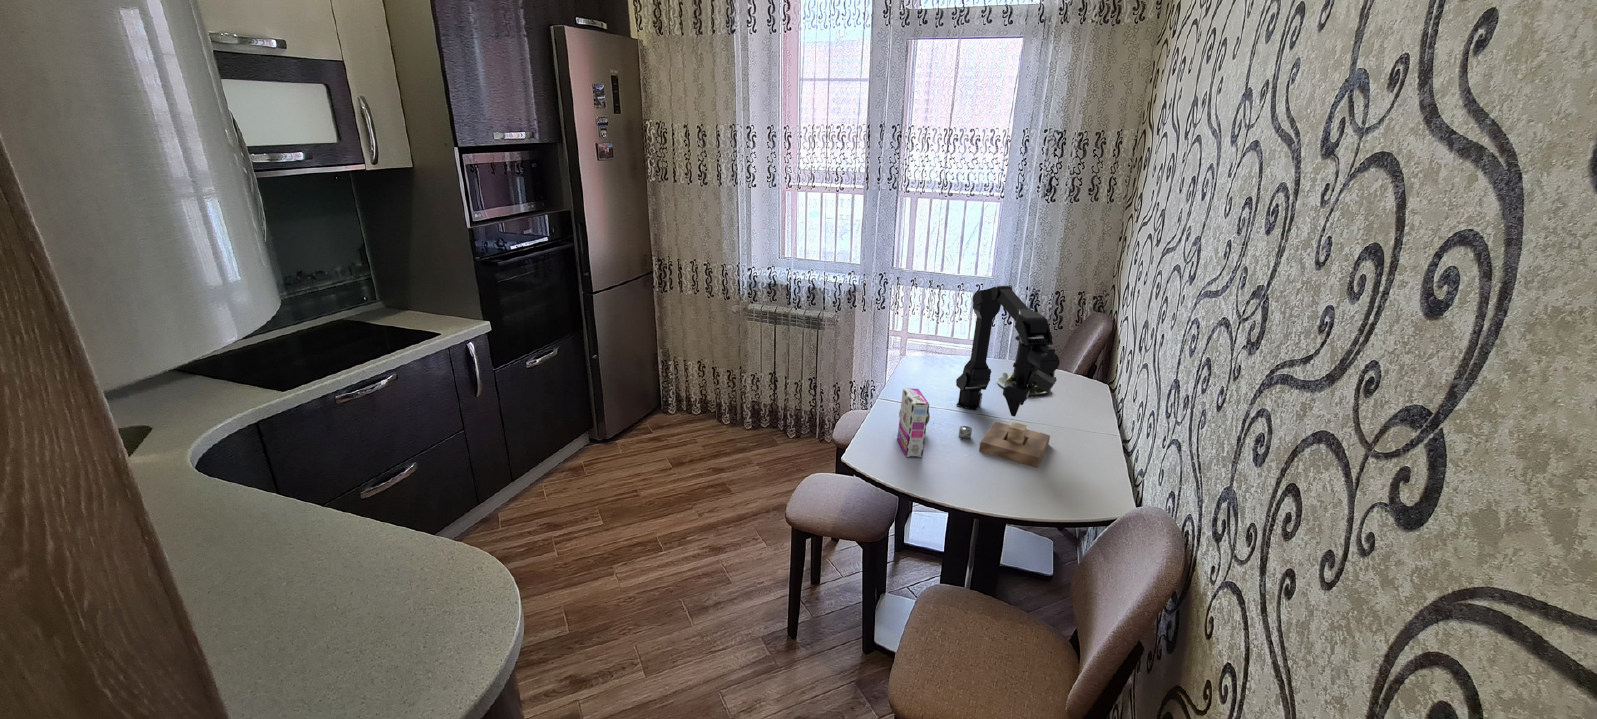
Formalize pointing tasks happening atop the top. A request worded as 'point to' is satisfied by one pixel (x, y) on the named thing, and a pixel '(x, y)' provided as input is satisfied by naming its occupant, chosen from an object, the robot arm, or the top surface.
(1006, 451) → the hole block
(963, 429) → the grey metal cylinder
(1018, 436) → the tan cardboard cuboid
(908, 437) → the candy bar box
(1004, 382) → the salad plate
